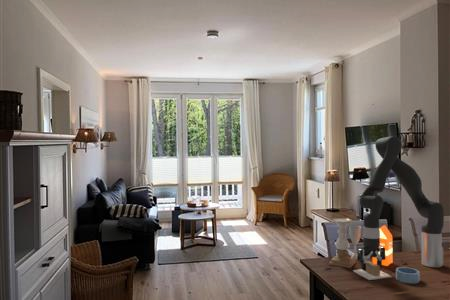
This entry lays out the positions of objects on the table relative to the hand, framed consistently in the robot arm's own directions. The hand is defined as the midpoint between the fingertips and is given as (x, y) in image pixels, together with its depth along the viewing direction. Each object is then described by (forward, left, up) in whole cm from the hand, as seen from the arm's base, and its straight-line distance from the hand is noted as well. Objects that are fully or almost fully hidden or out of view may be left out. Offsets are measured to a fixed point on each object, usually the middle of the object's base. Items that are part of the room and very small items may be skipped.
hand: (371, 269), depth 176 cm
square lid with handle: (0, 0, -2) cm, 2 cm away
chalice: (-8, -24, -3) cm, 25 cm away
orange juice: (-17, -13, -3) cm, 22 cm away
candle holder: (+4, -18, -3) cm, 19 cm away
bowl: (-11, +11, -3) cm, 16 cm away
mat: (0, 0, -3) cm, 3 cm away
